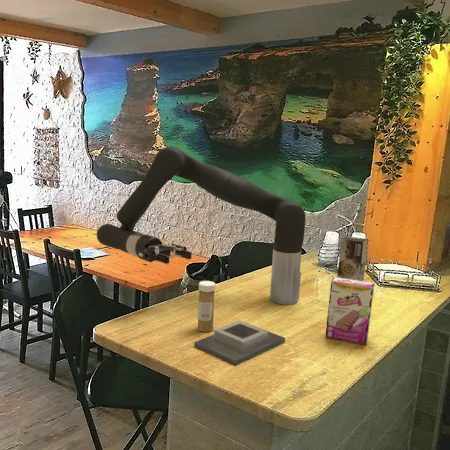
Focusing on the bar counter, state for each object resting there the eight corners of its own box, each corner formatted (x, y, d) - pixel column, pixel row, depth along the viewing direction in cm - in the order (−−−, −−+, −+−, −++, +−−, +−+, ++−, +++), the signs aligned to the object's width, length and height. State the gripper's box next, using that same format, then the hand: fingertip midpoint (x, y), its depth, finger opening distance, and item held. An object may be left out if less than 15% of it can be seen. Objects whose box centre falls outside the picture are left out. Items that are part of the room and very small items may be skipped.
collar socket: (244, 326, 140) (245, 314, 139) (285, 342, 131) (286, 329, 130) (194, 346, 125) (194, 332, 125) (235, 365, 116) (236, 351, 116)
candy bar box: (324, 338, 135) (330, 280, 132) (327, 331, 139) (332, 276, 136) (367, 346, 131) (373, 287, 128) (368, 339, 136) (374, 282, 133)
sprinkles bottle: (216, 328, 138) (218, 282, 135) (209, 333, 134) (211, 286, 131) (201, 324, 140) (203, 279, 137) (194, 330, 136) (195, 283, 133)
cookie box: (364, 279, 193) (368, 239, 190) (359, 283, 188) (363, 241, 185) (342, 274, 198) (345, 235, 195) (336, 278, 192) (340, 238, 189)
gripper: (125, 237, 145) (161, 248, 135) (162, 232, 156) (198, 242, 145) (124, 261, 147) (160, 274, 136) (161, 255, 157) (197, 266, 147)
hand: (179, 258), depth 141 cm, fingers open, 8 cm apart
